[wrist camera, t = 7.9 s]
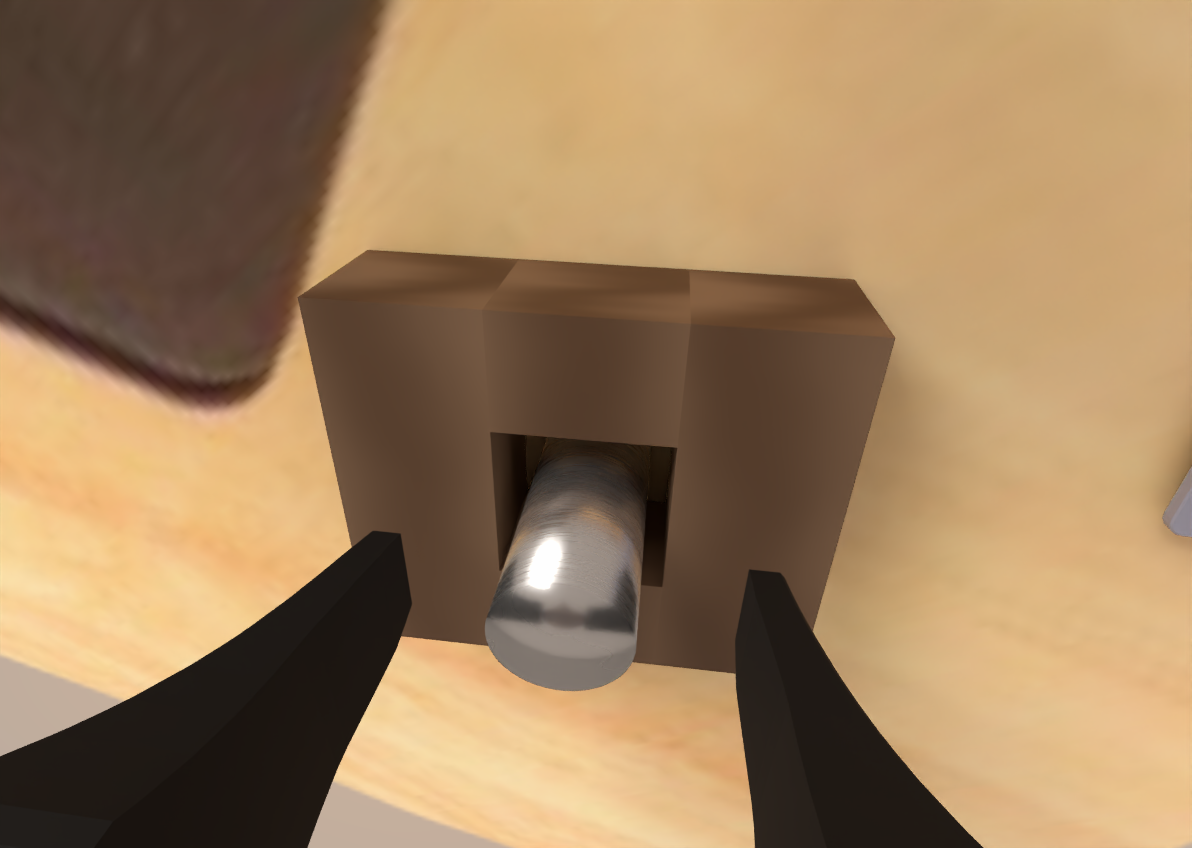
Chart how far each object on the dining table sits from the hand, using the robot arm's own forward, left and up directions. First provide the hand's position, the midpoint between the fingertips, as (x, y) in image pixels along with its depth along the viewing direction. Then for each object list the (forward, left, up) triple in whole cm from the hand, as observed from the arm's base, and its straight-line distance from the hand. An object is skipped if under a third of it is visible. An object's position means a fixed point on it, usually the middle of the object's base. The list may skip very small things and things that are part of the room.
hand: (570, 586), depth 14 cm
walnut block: (0, 0, -6) cm, 6 cm away
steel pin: (0, 0, -6) cm, 6 cm away
